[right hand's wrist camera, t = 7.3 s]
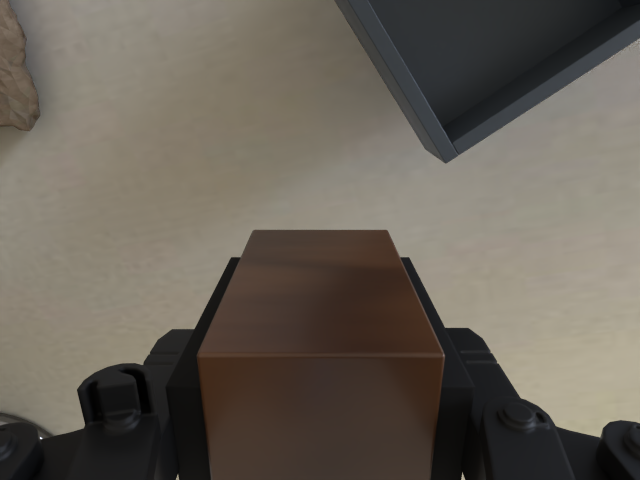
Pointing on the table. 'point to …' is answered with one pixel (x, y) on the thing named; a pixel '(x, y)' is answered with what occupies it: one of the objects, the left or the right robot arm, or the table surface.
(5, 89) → the stone
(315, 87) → the table surface
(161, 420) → the right robot arm
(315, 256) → the walnut block
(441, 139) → the slate tray
